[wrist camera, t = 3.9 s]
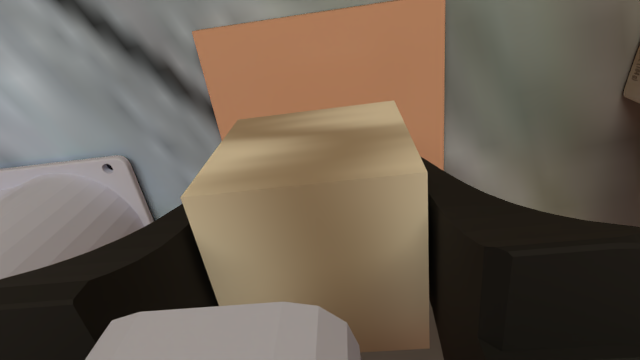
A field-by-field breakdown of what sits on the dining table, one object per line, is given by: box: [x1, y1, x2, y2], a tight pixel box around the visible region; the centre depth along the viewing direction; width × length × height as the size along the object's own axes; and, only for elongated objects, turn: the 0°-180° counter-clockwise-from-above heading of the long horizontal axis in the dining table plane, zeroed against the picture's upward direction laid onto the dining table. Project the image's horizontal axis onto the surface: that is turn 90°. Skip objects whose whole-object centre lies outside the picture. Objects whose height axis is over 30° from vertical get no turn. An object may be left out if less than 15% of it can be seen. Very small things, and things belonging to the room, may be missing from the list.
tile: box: [192, 0, 445, 171], centre depth 17 cm, size 10×10×1 cm
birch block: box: [180, 100, 430, 352], centre depth 11 cm, size 5×5×5 cm
